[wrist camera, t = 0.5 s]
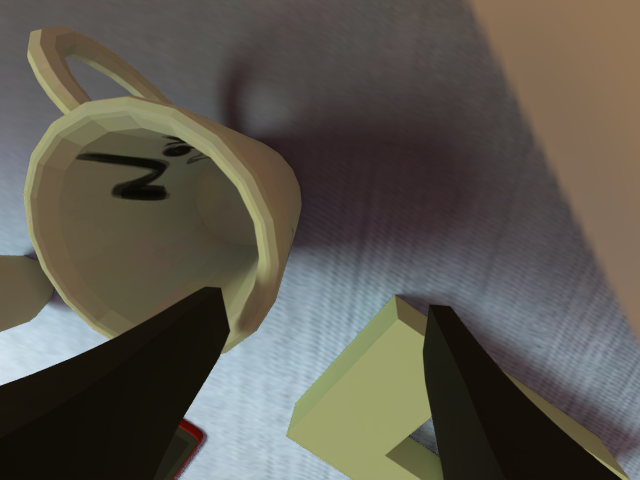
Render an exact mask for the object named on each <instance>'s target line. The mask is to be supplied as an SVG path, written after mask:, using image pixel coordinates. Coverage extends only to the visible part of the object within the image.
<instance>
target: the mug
mask: <svg viewBox="0 0 640 480" xmlns="http://www.w3.org/2000/svg"><path fill="white" fill-rule="evenodd" d="M66 57H70V58H73V59H76V60H78V61H81V62H84V63H86V64H88V65H90V66H92V67H94V68H95V69H97V70H99V71H101V72H102V73H104V74H106V75H108V76H109V77H111V78H112V79H113V80H115V81H116V82H118V83H119V84H120V85H122V86H123V87H124V88H126V89H127V90H128V91H130V92H131V93H132V94H133V96H126V97H118V98H111V99H103V100H95V101H92V99H91V98H90V97H89V96H88V95H87V94H86V92H85V91H84V90H83V89H82V88H81V86H80V85H79V84H78V82H77V81H76V79H75V78H74V76H73V75H72V73H71V71H70V69H69V67H68V64H67V62H66V60H65V58H66ZM28 60H29V62H30V65H31V67H32V69H33V71H34V73H35V75H36V78H37V80H38V81H39V83H40V84H41V86H42V87H43V89H44V90H45V92H46V93H47V94H48V96H49V97H50V98H51V99H52V101H53V102H54V103H55V104H56V105H57V106H58V107H59V109H60V110H61V111H62V112H63V113H64V114H65V115H64V116H63V117H61V118H60V119H58V120H56V121H55V122H53V123H52V124H51V125H50V127H49V129H48V130H47V132H46V133H45V135H44V136H43V138H42V139H41V141H40V142H39V144H38V145H37V147H36V148H35V150H34V151H33V153H32V154H31V158H30V163H29V168H28V173H27V178H26V183H25V188H24V201H25V210H26V219H27V228H28V233H29V236H30V238H31V241H32V244H33V246H34V249H35V251H36V254H37V257H38V259H39V262H40V264H41V267H42V269H43V271H44V272H45V274H46V275H47V277H48V278H49V280H50V281H51V283H52V284H53V286H54V287H55V289H56V290H57V291H58V293H59V294H60V296H61V297H62V299H63V300H64V302H65V303H66V304H67V305H68V306H69V307H70V308H71V309H72V310H74V311H75V312H76V313H77V314H78V315H79V316H80V317H81V318H82V319H83V320H84V321H85V322H86V323H87V324H88V325H89V326H90V327H91V328H92V329H94V330H95V331H97V332H99V333H100V334H102V335H104V336H105V337H107V338H108V339H110V340H111V339H113V338H115V337H117V336H119V335H121V334H122V333H124V332H126V331H128V330H130V329H132V328H133V327H135V326H137V325H139V324H141V323H142V322H144V321H146V320H148V319H150V318H151V317H153V316H155V315H157V314H158V313H160V312H162V311H163V310H165V309H167V308H168V307H170V306H172V305H173V304H175V303H177V302H178V301H180V300H182V299H184V298H185V297H187V296H189V295H190V294H192V293H194V292H196V291H198V290H199V289H201V288H203V287H205V286H208V287H220V288H221V290H222V294H223V299H224V304H225V308H226V313H227V318H228V322H229V327H230V333H229V336H228V338H227V341H226V343H225V346H224V348H223V350H222V352H221V354H223V353H226V352H228V351H229V350H230V349H232V348H233V347H234V346H236V345H237V344H239V343H240V342H241V341H243V340H244V339H246V338H247V337H248V336H250V335H251V334H253V333H254V332H255V331H257V329H258V328H259V326H260V324H261V323H262V321H263V320H264V318H265V317H266V315H267V314H268V312H269V310H270V309H271V307H272V306H273V304H274V303H275V301H276V298H277V294H278V291H279V287H280V284H281V280H282V277H283V273H284V270H285V267H286V263H287V260H288V256H289V253H290V249H291V246H292V242H293V239H294V235H295V232H296V229H297V225H298V221H299V216H300V212H301V207H302V202H301V192H300V186H299V183H298V181H297V179H296V176H295V174H294V172H293V169H292V168H291V167H290V166H289V164H288V163H287V162H286V161H285V160H284V158H283V157H282V156H281V155H280V154H279V153H278V152H276V151H275V150H273V149H272V148H270V147H268V146H267V145H265V144H264V143H262V142H259V141H257V140H255V139H253V138H250V137H248V136H246V135H243V134H241V133H239V132H236V131H234V130H232V129H230V128H227V127H225V126H223V125H220V124H218V123H216V122H214V121H211V120H209V119H207V118H204V117H202V116H200V115H197V114H195V113H193V112H191V111H188V110H186V109H184V108H181V107H178V106H174V105H173V104H172V103H171V102H170V101H169V100H168V99H167V98H166V97H165V96H164V95H163V94H162V93H161V92H160V91H159V90H158V89H157V88H156V87H155V86H154V85H153V84H151V83H150V82H149V81H148V80H147V79H146V78H145V77H144V76H143V75H141V74H140V73H139V72H138V71H137V70H136V69H134V68H133V67H132V66H131V65H129V64H128V63H127V62H126V61H124V60H123V59H122V58H121V57H119V56H118V55H117V54H115V53H114V52H112V51H111V50H109V49H107V48H106V47H104V46H103V45H101V44H100V43H98V42H97V41H95V40H93V39H92V38H90V37H88V36H86V35H83V34H81V33H79V32H77V31H75V30H73V29H70V28H68V27H66V26H58V27H52V28H46V29H40V30H36V31H32V32H31V34H30V39H29V45H28Z"/></svg>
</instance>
